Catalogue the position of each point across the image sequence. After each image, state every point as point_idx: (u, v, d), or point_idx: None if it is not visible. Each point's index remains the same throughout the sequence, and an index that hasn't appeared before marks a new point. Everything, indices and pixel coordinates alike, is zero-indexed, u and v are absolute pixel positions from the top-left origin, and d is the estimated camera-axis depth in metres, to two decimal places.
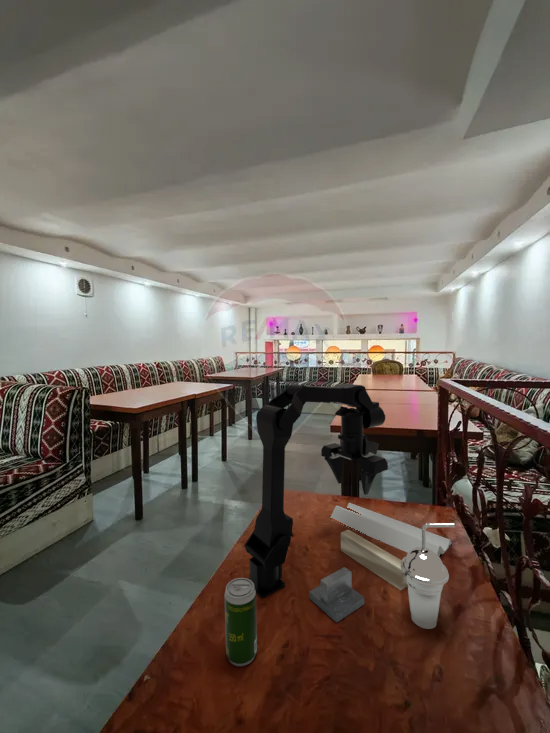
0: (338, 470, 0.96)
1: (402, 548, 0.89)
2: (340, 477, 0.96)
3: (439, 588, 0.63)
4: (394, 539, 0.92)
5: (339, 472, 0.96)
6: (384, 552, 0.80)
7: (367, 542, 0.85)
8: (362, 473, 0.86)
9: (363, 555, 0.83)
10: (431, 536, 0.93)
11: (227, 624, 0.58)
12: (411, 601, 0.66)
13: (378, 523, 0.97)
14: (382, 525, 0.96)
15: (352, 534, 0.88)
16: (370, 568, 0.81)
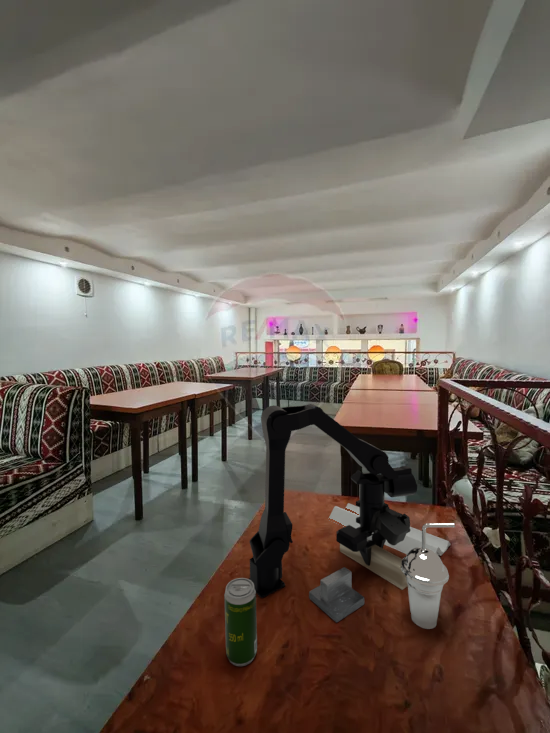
0: (375, 543, 0.84)
1: (400, 549, 0.89)
2: None
3: (439, 588, 0.63)
4: None
5: None
6: (384, 551, 0.81)
7: None
8: None
9: None
10: (430, 537, 0.93)
11: (227, 624, 0.58)
12: (411, 601, 0.66)
13: None
14: None
15: None
16: (370, 568, 0.81)
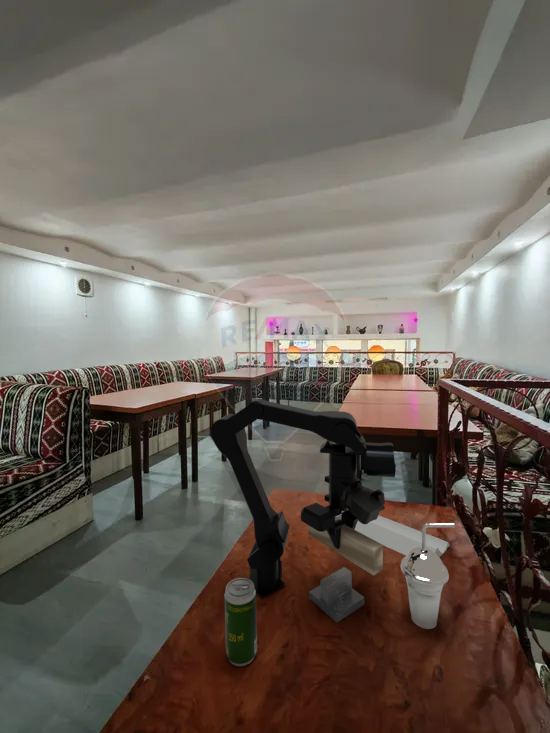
0: None
1: (399, 550, 0.89)
2: None
3: (439, 588, 0.63)
4: (391, 541, 0.91)
5: None
6: (356, 532, 0.71)
7: None
8: None
9: None
10: (429, 538, 0.92)
11: (227, 624, 0.58)
12: (411, 601, 0.66)
13: (375, 524, 0.96)
14: (379, 526, 0.95)
15: None
16: (340, 551, 0.72)
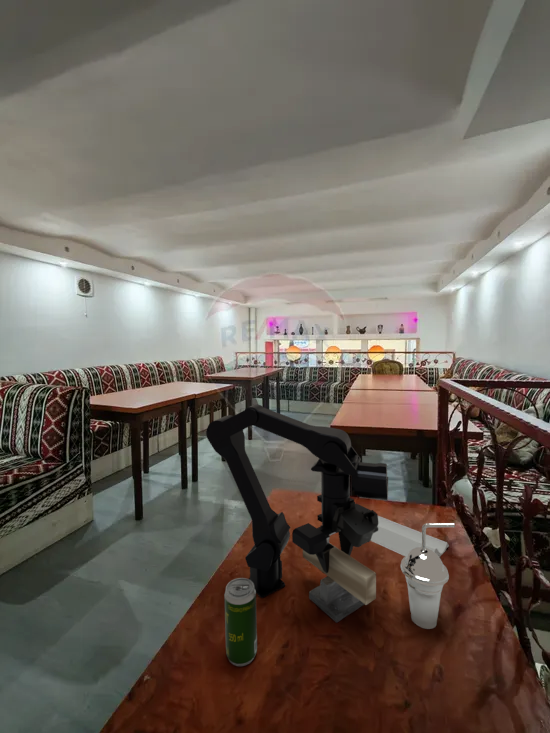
0: (344, 543, 0.73)
1: (398, 550, 0.88)
2: None
3: (439, 588, 0.63)
4: (390, 541, 0.91)
5: (344, 546, 0.73)
6: (349, 558, 0.69)
7: None
8: None
9: None
10: (428, 538, 0.92)
11: (227, 624, 0.58)
12: (411, 601, 0.66)
13: None
14: (378, 527, 0.95)
15: None
16: (333, 577, 0.70)
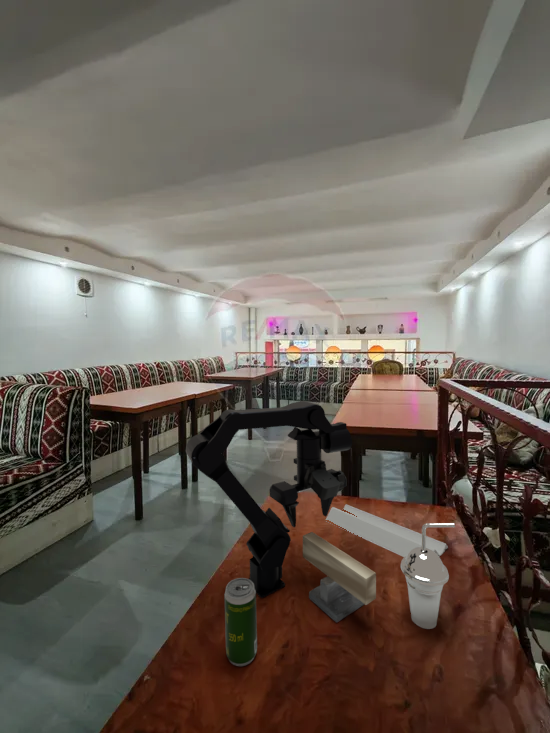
0: (323, 500, 0.84)
1: (396, 551, 0.88)
2: (324, 509, 0.83)
3: (439, 588, 0.63)
4: (388, 542, 0.91)
5: (324, 503, 0.84)
6: (349, 558, 0.69)
7: (331, 546, 0.73)
8: None
9: (326, 562, 0.72)
10: (427, 540, 0.92)
11: (227, 624, 0.58)
12: (411, 601, 0.66)
13: (373, 525, 0.96)
14: (377, 527, 0.95)
15: (315, 537, 0.77)
16: (333, 577, 0.70)
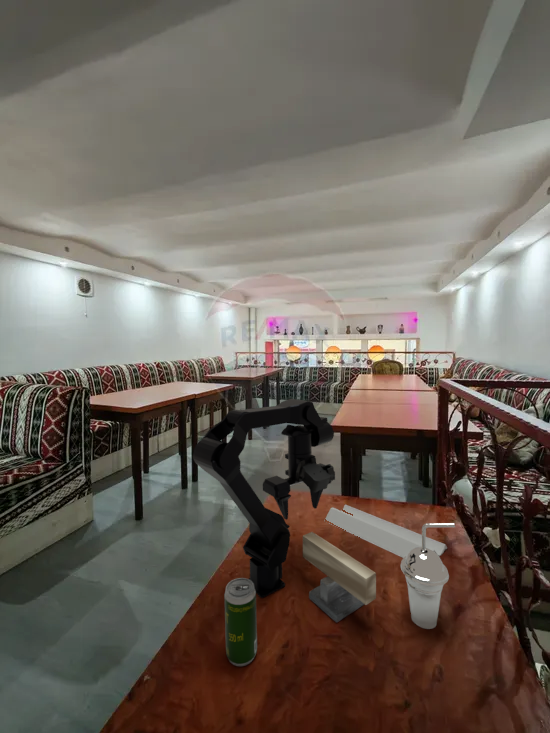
0: (313, 493, 0.88)
1: (395, 552, 0.88)
2: (314, 501, 0.87)
3: (439, 588, 0.63)
4: (387, 542, 0.90)
5: (314, 495, 0.88)
6: (349, 558, 0.69)
7: (331, 546, 0.73)
8: None
9: (326, 562, 0.72)
10: (426, 540, 0.91)
11: (227, 624, 0.58)
12: (411, 601, 0.66)
13: (372, 526, 0.96)
14: (376, 528, 0.95)
15: (315, 537, 0.77)
16: (333, 577, 0.70)
